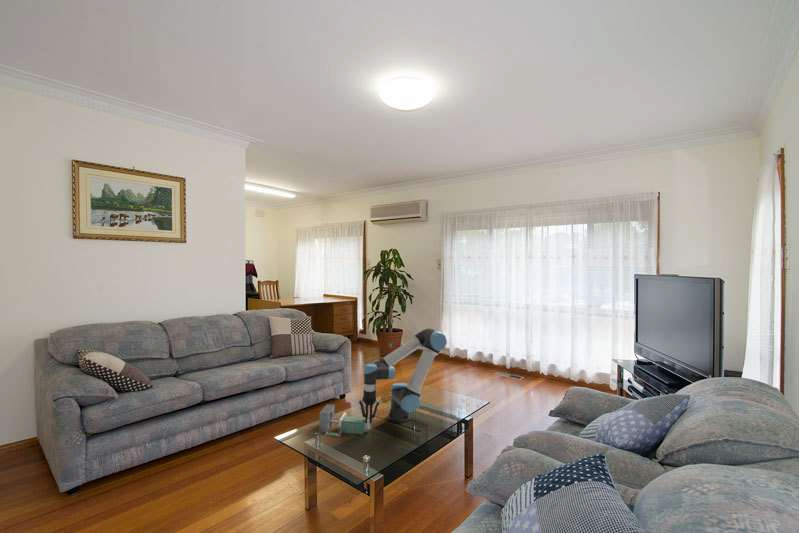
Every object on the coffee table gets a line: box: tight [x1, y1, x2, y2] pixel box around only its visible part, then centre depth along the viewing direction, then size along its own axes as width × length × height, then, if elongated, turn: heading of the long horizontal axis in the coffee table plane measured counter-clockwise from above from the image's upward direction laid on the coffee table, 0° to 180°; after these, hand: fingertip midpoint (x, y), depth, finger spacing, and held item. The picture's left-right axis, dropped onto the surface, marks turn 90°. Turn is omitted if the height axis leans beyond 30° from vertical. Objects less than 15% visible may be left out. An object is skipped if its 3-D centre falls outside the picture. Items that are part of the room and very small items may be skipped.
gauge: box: [318, 403, 342, 437], centre depth 227 cm, size 14×16×12 cm
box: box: [341, 416, 367, 435], centre depth 225 cm, size 7×14×8 cm, turn 83°
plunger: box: [330, 411, 347, 434], centre depth 227 cm, size 13×16×8 cm
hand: (368, 428), depth 225 cm, fingers closed
